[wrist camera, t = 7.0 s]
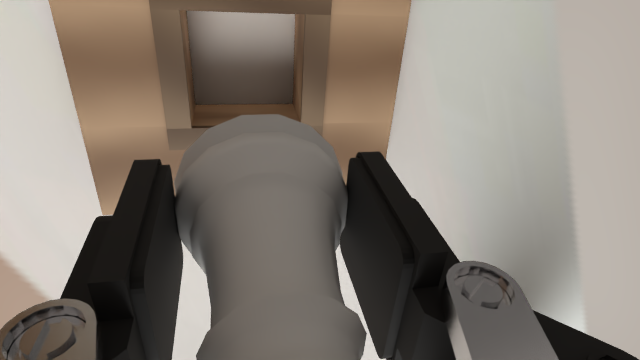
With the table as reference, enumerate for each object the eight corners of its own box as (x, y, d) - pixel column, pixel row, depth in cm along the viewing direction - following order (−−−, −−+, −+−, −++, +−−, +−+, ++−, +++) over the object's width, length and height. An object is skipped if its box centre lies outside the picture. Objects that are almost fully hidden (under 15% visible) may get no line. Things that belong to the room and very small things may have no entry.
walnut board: (365, 175, 29) (380, 201, 26) (114, 186, 25) (101, 218, 23) (404, -107, 20) (432, -112, 18) (41, -142, 17) (6, -155, 14)
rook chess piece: (231, 71, 10) (246, 387, 3) (370, 157, 12) (560, 463, 5) (145, 207, 11) (28, 624, 5) (281, 263, 13) (339, 611, 7)
